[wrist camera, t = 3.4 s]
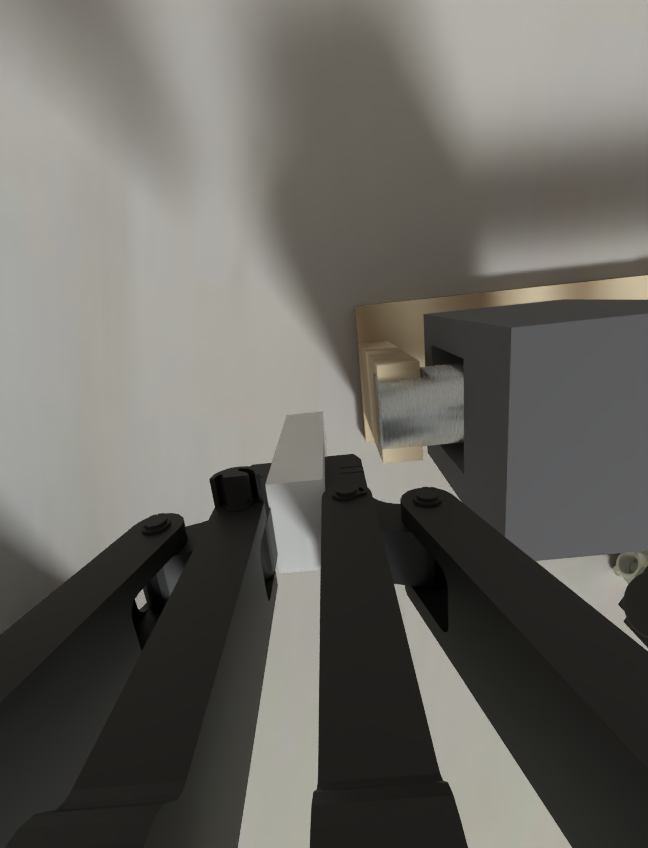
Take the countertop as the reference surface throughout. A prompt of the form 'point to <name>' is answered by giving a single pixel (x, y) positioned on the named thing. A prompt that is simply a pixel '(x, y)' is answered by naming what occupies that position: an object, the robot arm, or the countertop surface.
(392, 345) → the pipe rig
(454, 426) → the pipe
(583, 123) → the countertop surface
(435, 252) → the countertop surface
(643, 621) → the pneumatic valve
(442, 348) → the collar
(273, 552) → the robot arm
